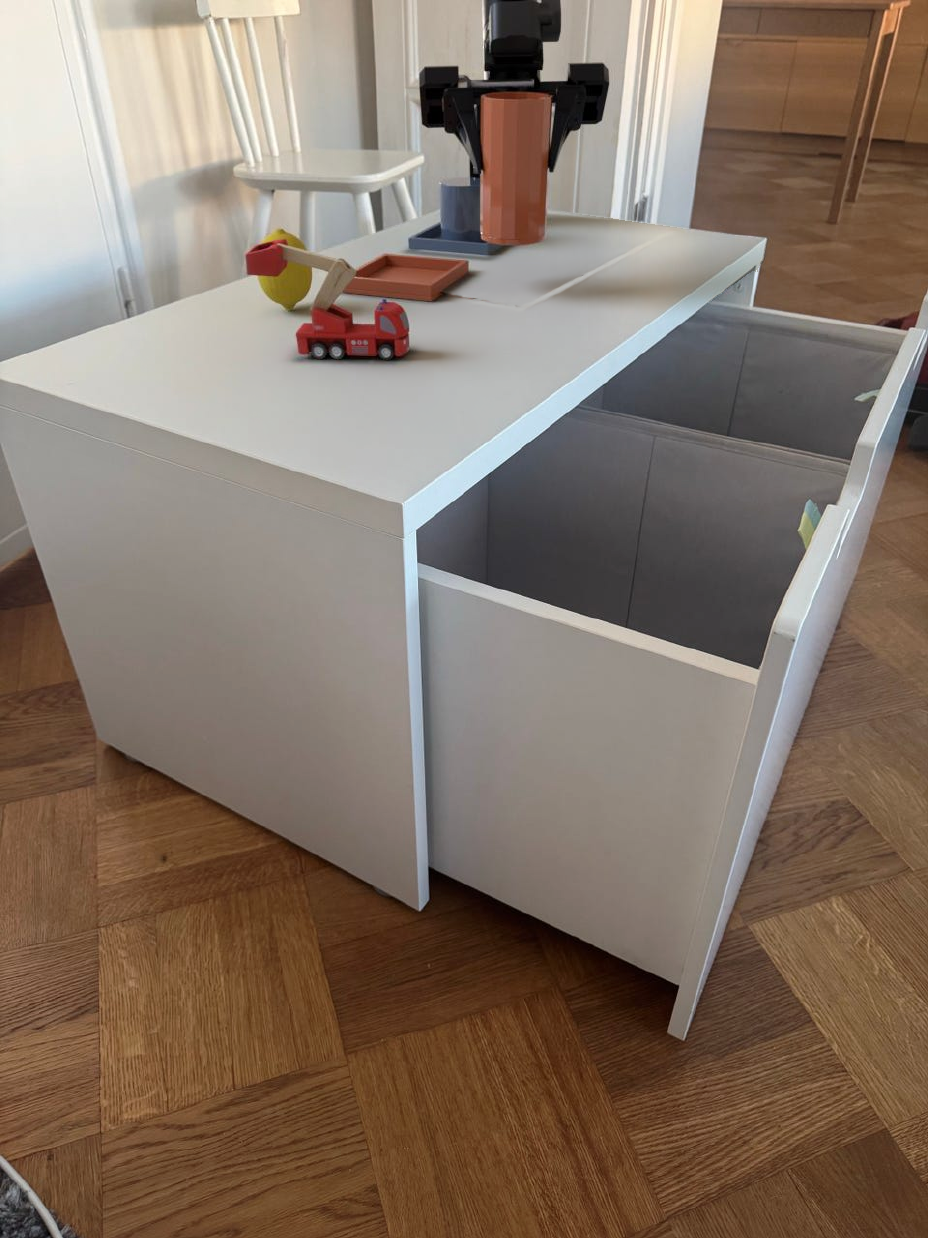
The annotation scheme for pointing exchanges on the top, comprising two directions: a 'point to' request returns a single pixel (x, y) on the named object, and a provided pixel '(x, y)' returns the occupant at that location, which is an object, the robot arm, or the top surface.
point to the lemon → (287, 276)
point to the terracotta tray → (406, 276)
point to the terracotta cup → (514, 167)
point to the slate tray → (448, 243)
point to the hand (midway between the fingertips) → (515, 170)
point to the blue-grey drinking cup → (460, 209)
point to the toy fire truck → (334, 307)
